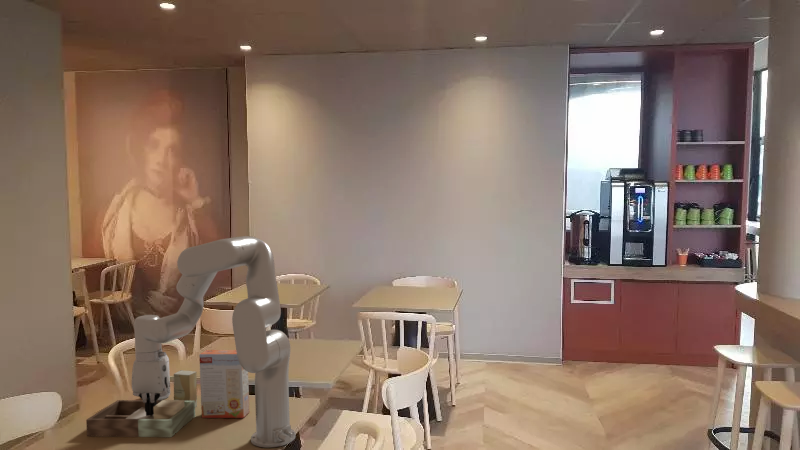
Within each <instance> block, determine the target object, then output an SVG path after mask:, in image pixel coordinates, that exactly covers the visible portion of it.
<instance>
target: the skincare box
mask: <svg viewBox="0 0 800 450" xmlns="http://www.w3.org/2000/svg"><path fill="white" fill-rule="evenodd" d="M197 377H198V376H197V371H196V370H195V371H192V370H178V371H177V372H175V373H173V400H184V401H195V408H197V407H198V401H197V400H198V398H197V397H198V395H197V394H198V390H197V386H198V385H197V384H198V383H197V382H198V381H197V380H198V379H197Z"/></svg>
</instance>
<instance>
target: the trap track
mask: <svg viewBox="0 0 800 450" xmlns="http://www.w3.org/2000/svg"><path fill="white" fill-rule="evenodd" d="M161 401H162V400H157V404H158V403H159V402H161ZM184 404H185V407H183V408H182V409H181V410H180V411H179V412H177V413H176V414H175V415H174V416H172V417H171V418H170V419H154V414H153V415H152V416H150V415H149V416H146V412H145V403H143V400H142V399H141V400H140V399H137V400H135V399H128V400H127V399H119V400H118V399H117V400H115V401H114V402H113V403H111V404H109V405H107V406H106V407H104V408H103V409H101V410H99V411H98V412H96V413H95V414H93V415H91V416H90V417H88V418H86V420H85V421H86V424H85V425H86V437H114V438H115V437H117V438H118V437H121V438H122V437H123V438H124V437H125V438H126V437H127V438H128V437H129V438H131V437H132V438H133V437H134V438H173V436H174V435H176V434H177V433H178V432H179V431H181V429H182V428H183V426H184V427H185V426H186V425H187V424H188V423H189V422H190V421H192V420H193V419H194V418H195V417H196V415H197V414H196V407H195V401H184ZM192 418H193V419H192ZM175 433H176V434H175Z"/></svg>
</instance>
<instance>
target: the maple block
mask: <svg viewBox="0 0 800 450" xmlns="http://www.w3.org/2000/svg"><path fill="white" fill-rule="evenodd" d="M183 407H185V404H184V400H174V399H173V400H172V399H163V400H162V401H161V402H159V403H158V404H157V405H155V406H154V407H153V408H154V419H170V418H171V417H172V416H174V415H175V414H176V413H177V412H179V411H180V410H181V409H182V408H183Z"/></svg>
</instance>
